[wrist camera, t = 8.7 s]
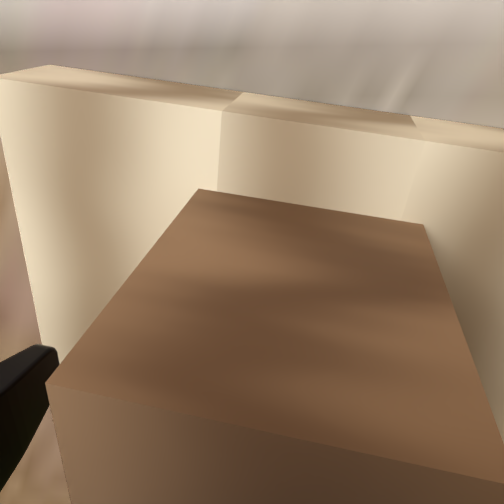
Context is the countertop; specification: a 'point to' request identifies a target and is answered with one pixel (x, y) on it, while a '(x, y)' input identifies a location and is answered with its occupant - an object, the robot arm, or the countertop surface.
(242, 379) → the walnut peg
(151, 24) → the countertop surface
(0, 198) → the countertop surface
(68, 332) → the birch board
